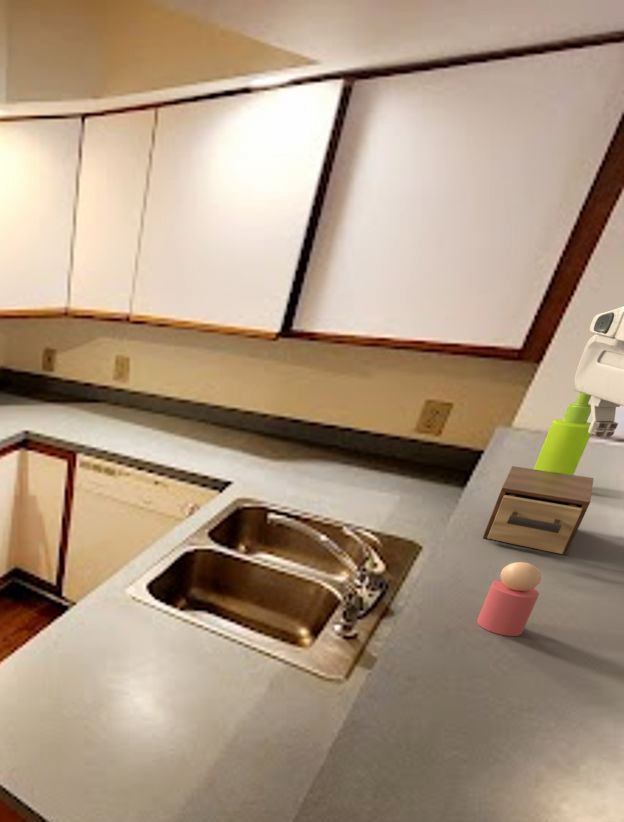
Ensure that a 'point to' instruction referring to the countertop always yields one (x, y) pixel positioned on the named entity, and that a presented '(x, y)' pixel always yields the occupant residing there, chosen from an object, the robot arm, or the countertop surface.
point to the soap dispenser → (566, 439)
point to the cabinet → (546, 492)
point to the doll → (510, 600)
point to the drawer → (534, 522)
